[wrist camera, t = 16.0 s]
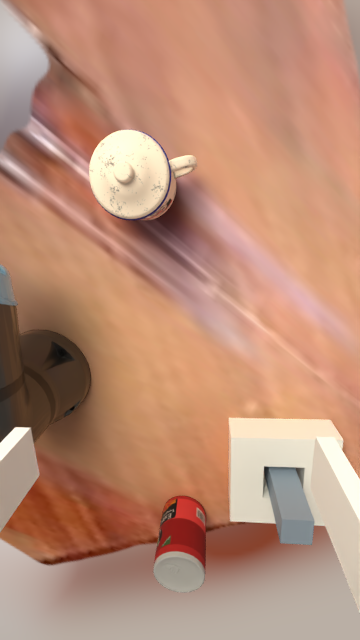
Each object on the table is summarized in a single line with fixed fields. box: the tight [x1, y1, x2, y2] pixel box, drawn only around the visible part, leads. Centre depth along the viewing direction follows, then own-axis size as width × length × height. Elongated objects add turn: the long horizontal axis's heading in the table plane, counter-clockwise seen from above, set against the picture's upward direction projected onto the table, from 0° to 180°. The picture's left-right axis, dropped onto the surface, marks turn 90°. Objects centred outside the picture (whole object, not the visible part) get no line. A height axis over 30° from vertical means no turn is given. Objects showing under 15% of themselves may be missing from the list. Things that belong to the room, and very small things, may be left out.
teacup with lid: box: [89, 129, 197, 220], centre depth 36 cm, size 12×9×12 cm
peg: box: [264, 466, 314, 545], centre depth 46 cm, size 4×4×13 cm
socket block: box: [228, 418, 343, 526], centre depth 50 cm, size 16×16×5 cm
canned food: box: [154, 496, 206, 593], centre depth 52 cm, size 8×8×11 cm
